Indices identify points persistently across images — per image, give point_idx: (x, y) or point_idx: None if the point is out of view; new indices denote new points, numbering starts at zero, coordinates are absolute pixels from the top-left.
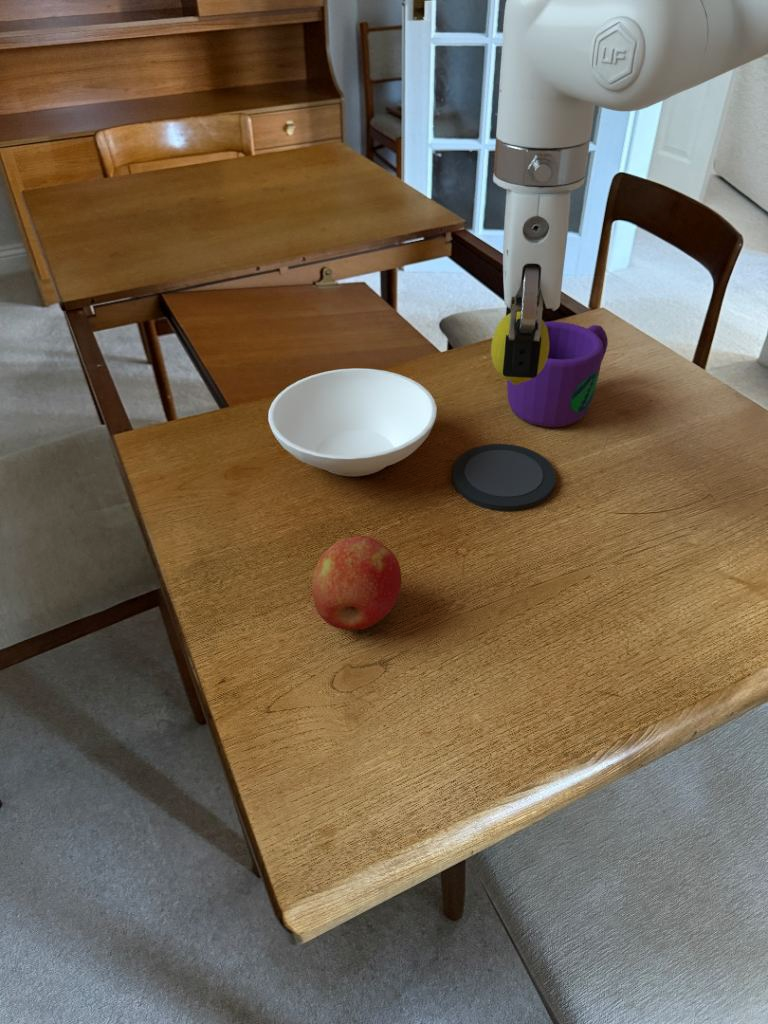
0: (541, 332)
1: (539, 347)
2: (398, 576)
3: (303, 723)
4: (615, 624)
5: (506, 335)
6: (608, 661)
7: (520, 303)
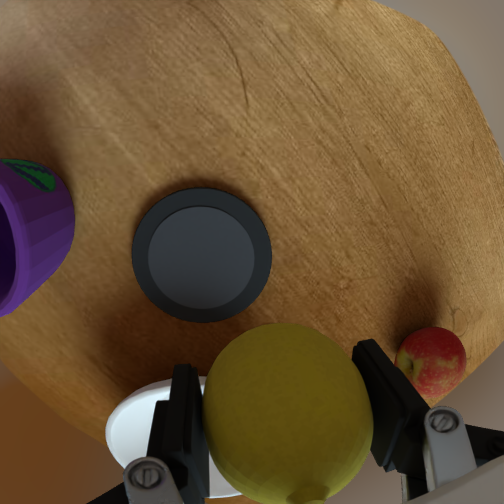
0: (351, 415)
1: (411, 390)
2: (440, 338)
3: (479, 338)
4: (418, 128)
5: (387, 471)
6: (451, 142)
7: (197, 501)
